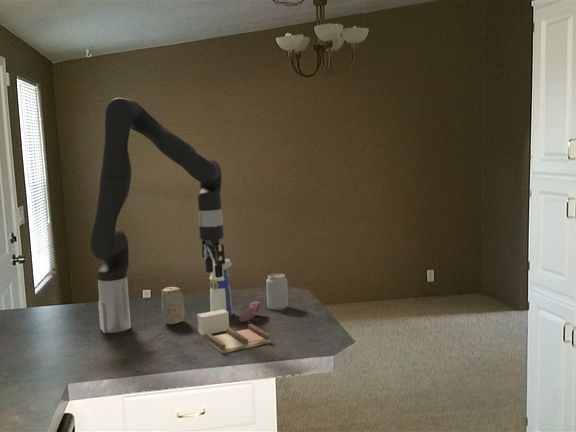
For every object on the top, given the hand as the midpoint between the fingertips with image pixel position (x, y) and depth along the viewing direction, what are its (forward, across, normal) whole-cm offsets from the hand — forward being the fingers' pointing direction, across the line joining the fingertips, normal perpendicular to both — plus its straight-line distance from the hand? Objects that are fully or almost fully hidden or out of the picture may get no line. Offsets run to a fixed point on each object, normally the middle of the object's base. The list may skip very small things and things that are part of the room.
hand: (214, 274), depth 186 cm
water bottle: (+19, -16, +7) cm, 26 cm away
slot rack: (+18, +13, +1) cm, 23 cm away
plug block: (+18, -1, -1) cm, 19 cm away
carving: (+18, -16, -10) cm, 26 cm away
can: (+19, -12, +28) cm, 36 cm away
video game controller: (+19, -6, +14) cm, 25 cm away
